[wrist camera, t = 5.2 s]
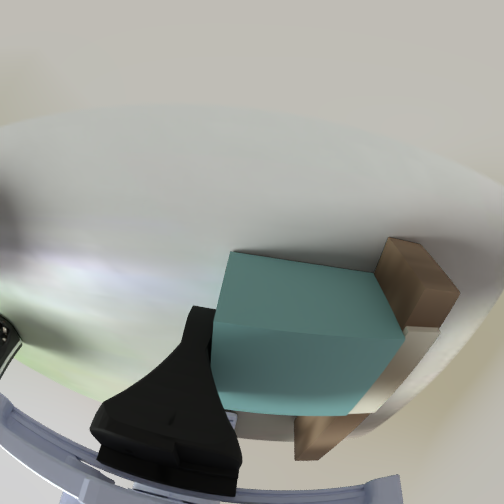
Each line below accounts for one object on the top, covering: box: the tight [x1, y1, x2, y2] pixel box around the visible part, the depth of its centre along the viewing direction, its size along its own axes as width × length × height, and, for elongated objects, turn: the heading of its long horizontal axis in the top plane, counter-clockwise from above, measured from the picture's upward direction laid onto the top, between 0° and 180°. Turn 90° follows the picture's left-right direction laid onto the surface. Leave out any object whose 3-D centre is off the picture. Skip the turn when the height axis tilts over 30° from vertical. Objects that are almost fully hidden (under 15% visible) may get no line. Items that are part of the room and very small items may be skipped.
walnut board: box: [294, 237, 460, 461], centre depth 14 cm, size 18×2×4 cm, turn 172°
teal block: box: [211, 251, 406, 416], centre depth 12 cm, size 6×7×4 cm
